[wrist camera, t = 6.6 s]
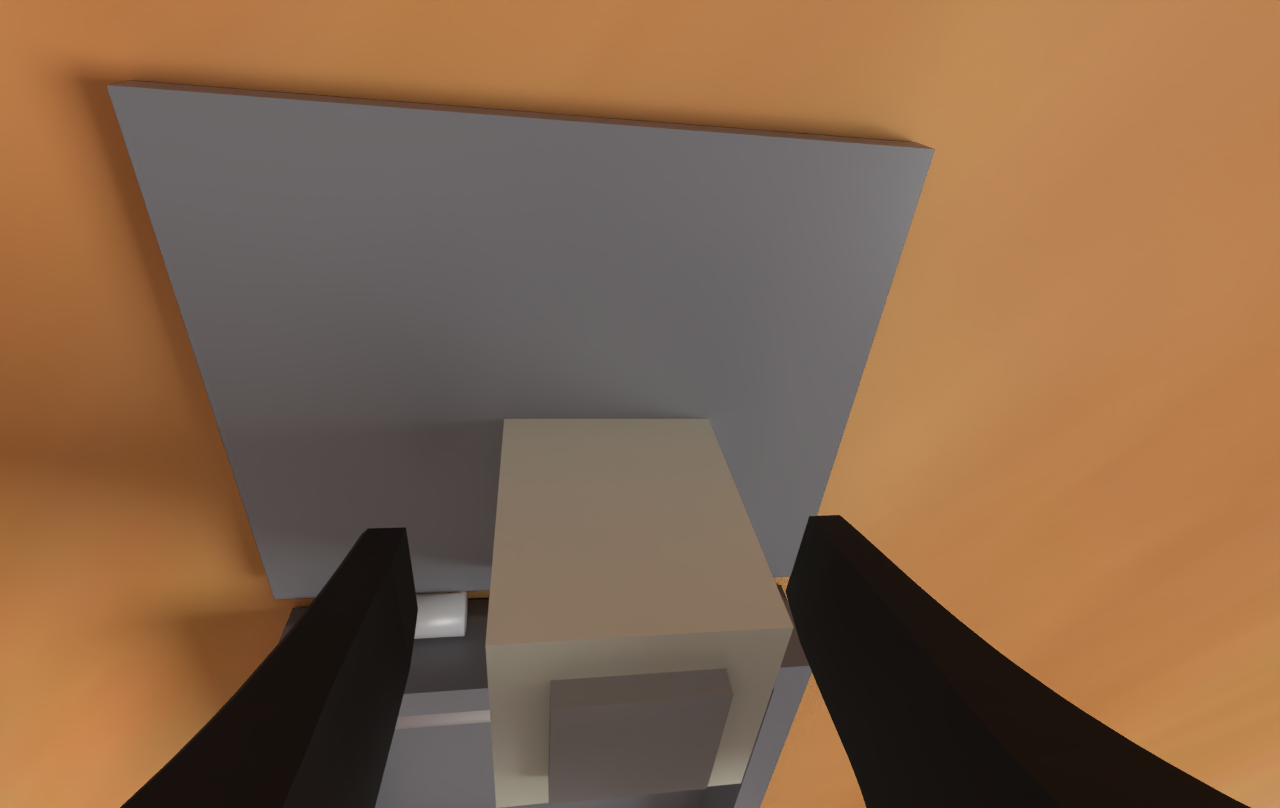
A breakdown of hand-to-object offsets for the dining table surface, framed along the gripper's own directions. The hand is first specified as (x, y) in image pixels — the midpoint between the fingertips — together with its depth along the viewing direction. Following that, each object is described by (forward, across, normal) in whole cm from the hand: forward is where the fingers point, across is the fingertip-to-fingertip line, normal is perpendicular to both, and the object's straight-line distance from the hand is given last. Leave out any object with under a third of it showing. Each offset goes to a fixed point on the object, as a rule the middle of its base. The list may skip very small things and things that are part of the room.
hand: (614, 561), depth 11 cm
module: (+2, 0, 0) cm, 2 cm away
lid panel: (+3, +1, -2) cm, 4 cm away
